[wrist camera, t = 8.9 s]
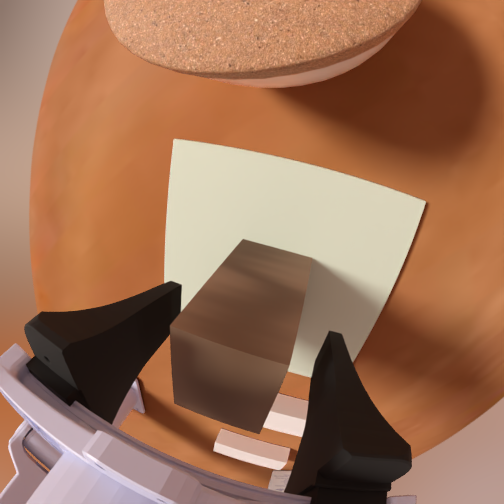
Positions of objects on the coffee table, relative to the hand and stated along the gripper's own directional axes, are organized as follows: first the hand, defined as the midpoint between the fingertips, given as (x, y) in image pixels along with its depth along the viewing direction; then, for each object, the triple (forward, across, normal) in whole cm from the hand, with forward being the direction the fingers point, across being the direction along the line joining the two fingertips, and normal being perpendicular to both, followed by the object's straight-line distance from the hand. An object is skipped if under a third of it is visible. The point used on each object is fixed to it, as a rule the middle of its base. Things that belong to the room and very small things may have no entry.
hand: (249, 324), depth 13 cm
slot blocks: (+5, -3, +17) cm, 18 cm away
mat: (+5, 0, 0) cm, 5 cm away
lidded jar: (+5, +2, -15) cm, 16 cm away
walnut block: (+4, 0, 0) cm, 4 cm away
